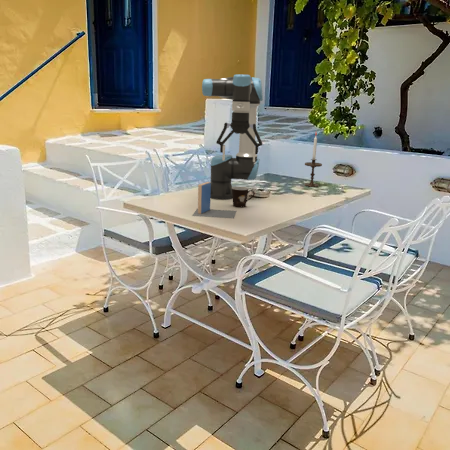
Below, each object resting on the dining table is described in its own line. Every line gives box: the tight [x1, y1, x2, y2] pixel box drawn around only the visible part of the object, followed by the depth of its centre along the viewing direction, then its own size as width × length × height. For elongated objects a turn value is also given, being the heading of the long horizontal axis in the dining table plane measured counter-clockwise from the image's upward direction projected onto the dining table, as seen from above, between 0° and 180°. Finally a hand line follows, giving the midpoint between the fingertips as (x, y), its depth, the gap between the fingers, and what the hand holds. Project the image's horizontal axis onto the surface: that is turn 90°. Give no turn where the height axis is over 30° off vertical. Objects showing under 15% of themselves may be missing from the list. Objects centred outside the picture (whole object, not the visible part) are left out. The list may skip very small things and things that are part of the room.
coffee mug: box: [231, 186, 255, 209], centre depth 240 cm, size 12×9×10 cm
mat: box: [191, 208, 237, 219], centre depth 226 cm, size 14×20×1 cm
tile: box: [197, 181, 211, 214], centre depth 227 cm, size 9×2×14 cm, turn 154°
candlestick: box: [304, 131, 323, 188], centre depth 298 cm, size 11×11×35 cm
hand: (238, 160), depth 208 cm, fingers open, 13 cm apart
